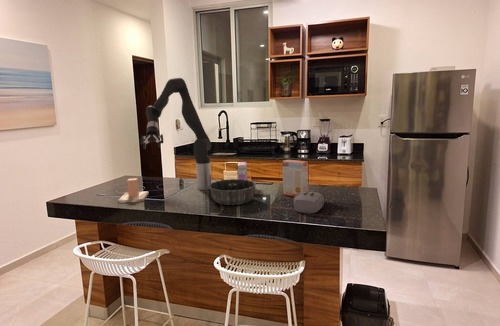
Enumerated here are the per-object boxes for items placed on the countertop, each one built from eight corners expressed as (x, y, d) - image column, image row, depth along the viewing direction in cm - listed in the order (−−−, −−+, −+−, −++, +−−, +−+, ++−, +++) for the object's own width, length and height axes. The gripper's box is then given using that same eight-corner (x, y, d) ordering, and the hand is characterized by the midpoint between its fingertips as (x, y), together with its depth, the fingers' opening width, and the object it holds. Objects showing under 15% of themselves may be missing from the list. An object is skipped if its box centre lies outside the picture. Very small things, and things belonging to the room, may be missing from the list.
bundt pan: (246, 210, 163) (246, 191, 161) (201, 206, 172) (200, 188, 170) (262, 196, 187) (262, 180, 186) (221, 193, 196) (221, 178, 195)
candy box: (246, 190, 202) (246, 165, 199) (237, 190, 202) (236, 165, 200) (247, 185, 216) (246, 161, 213) (238, 185, 216) (238, 161, 213)
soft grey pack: (319, 215, 153) (328, 204, 170) (319, 198, 151) (328, 189, 169) (289, 211, 159) (300, 201, 177) (289, 195, 158) (300, 186, 176)
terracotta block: (139, 194, 194) (137, 178, 192) (137, 196, 189) (135, 180, 187) (130, 194, 193) (129, 178, 191) (128, 196, 188) (127, 180, 187)
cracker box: (308, 196, 185) (308, 161, 181) (302, 198, 181) (302, 162, 177) (288, 192, 194) (288, 159, 191) (282, 194, 190) (282, 160, 187)
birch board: (148, 193, 201) (148, 191, 201) (143, 201, 183) (143, 198, 183) (125, 194, 199) (125, 192, 199) (118, 203, 181) (117, 200, 181)
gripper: (140, 126, 211) (139, 145, 201) (162, 125, 213) (162, 143, 203) (142, 133, 217) (141, 152, 207) (164, 132, 219) (163, 151, 209)
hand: (151, 148), depth 205 cm, fingers open, 8 cm apart
